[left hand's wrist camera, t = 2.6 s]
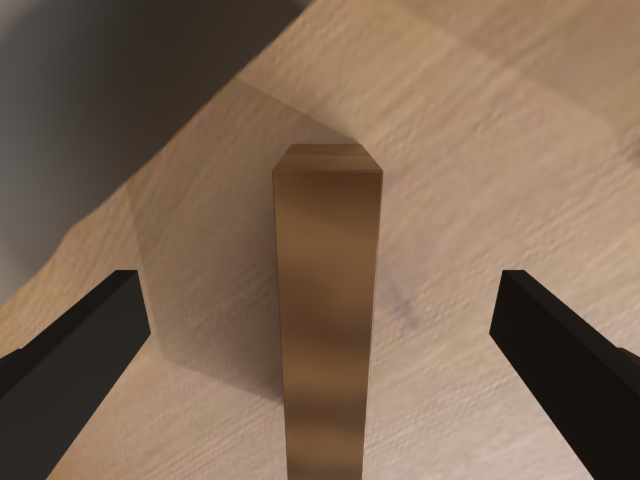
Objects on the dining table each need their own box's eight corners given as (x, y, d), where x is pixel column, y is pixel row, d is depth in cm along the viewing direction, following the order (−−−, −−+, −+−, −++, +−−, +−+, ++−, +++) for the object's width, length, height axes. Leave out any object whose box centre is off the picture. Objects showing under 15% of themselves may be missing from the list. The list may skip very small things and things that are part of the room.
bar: (291, 144, 23) (271, 169, 15) (362, 144, 23) (383, 170, 15) (299, 412, 32) (289, 526, 24) (350, 413, 32) (359, 527, 24)
